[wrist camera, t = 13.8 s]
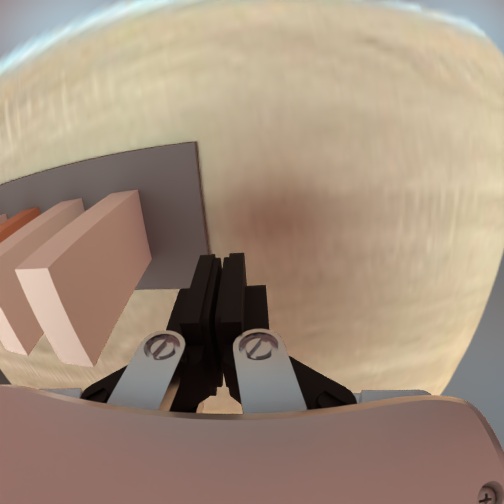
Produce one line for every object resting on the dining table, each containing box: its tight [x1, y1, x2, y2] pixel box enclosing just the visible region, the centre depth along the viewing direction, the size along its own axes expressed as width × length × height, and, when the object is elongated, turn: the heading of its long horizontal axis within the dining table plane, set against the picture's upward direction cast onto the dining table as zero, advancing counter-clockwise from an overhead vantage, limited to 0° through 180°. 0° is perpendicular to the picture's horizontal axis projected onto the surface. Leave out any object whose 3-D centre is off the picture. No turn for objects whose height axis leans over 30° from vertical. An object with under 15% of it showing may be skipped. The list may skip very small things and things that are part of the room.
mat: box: [0, 142, 209, 290], centre depth 19 cm, size 10×26×1 cm, turn 93°
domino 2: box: [0, 198, 85, 356], centre depth 14 cm, size 2×5×10 cm, turn 3°
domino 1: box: [0, 207, 41, 243], centre depth 14 cm, size 2×5×10 cm, turn 3°
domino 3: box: [15, 190, 152, 367], centre depth 14 cm, size 2×5×10 cm, turn 3°
